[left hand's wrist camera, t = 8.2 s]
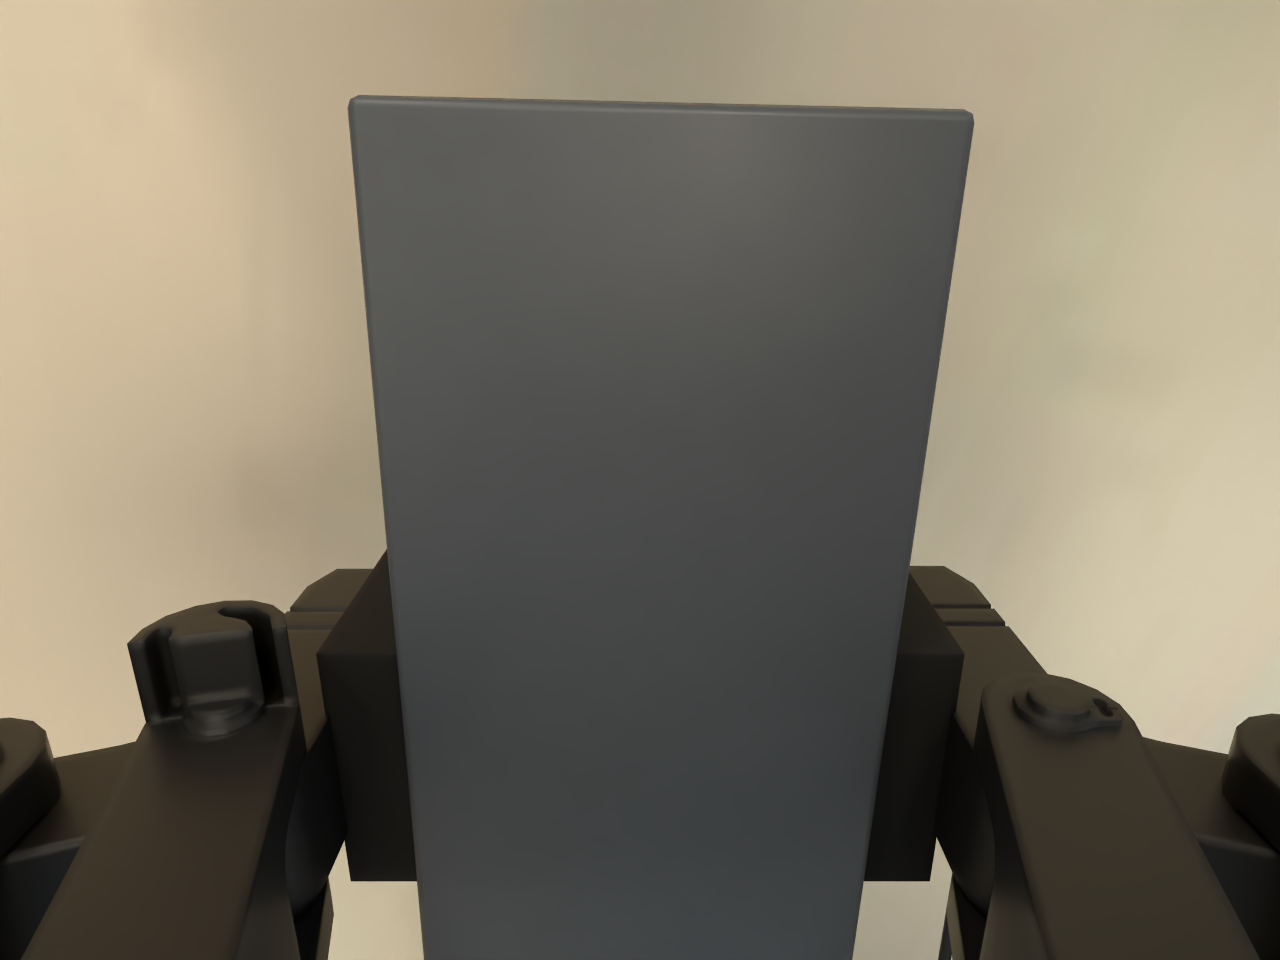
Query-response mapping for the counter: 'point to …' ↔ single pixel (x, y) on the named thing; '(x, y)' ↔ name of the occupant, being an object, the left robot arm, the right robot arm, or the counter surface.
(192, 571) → the counter surface
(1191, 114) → the counter surface
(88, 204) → the counter surface
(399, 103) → the bar
